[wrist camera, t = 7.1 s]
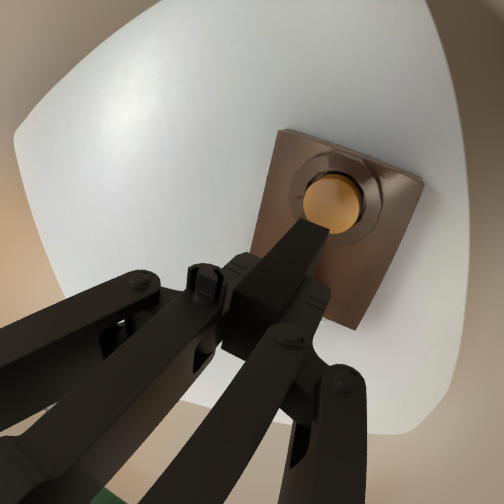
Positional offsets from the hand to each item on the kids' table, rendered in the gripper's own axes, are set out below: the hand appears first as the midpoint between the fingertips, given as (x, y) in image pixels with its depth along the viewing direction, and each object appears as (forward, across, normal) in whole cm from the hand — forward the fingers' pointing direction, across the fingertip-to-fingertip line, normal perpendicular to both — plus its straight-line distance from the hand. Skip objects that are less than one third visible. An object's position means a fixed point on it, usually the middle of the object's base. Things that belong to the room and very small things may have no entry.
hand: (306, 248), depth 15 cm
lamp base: (+13, 0, -4) cm, 13 cm away
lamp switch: (+9, 0, 0) cm, 9 cm away
